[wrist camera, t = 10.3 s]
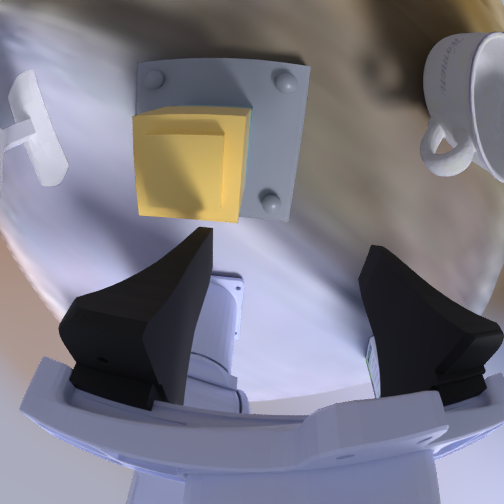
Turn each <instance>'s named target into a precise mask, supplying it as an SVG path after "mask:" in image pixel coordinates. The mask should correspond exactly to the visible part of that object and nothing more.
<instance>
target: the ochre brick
mask: <svg viewBox="0 0 504 504" xmlns="http://www.w3.org/2000/svg"><path fill="white" fill-rule="evenodd" d="M250 116H251V109H250V108H236V107H215V106H167V107H163V108H159V109H155V110H152V111H148V112H144V113H141V114H138V115H134V116H133V150H134V167H135V180H136V191H137V201H138V210H139V215H141V216H156V217H170V218H183V219H195V220H208V221H219V222H230V223H238V218H239V213H240V208H241V202H242V197H243V192H244V185H245V173H246V161H247V149H248V138H249V127H250Z"/></svg>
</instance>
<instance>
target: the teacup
mask: <svg viewBox="0 0 504 504" xmlns="http://www.w3.org/2000/svg"><path fill="white" fill-rule="evenodd" d="M423 89H424V96H425V101H426V105H427V108H428V111H429V114H430V116H431V118H430V120H429V122H428V129H427V130H426V132H425V134H424V136H423V138H422V141H421V145H420V155H421V158H422V160H423V162H424V163H425V165H426V167H427V168H428V169H429V170H430V171H431V172H432V173H434V174H436V175H439V176H453V175H456V174H458V173H460V172H462V171H464V170H465V169H466V168H467V167H468V166H469V164H470V163H471V160H472V161H473V162H475V163H476V164H478V165H479V166H481V167H482V168H484V169H486V170H487V171H489V172H490V173H491V174H492V175H493V176H494V177H495V178H496V179H497V180H499V181H501V182H503V183H504V32H491V33H461V34H455V35H451V36H448V37H446V38H443V39H442V40H440V41H439V42H438V43H437V44H436V45H435V46H434V47H433V48H432V50H431V51H430V53H429V55H428V57H427V60H426V63H425V67H424V75H423ZM443 138H444V139H445V140H446V141H447V142H448V143H449V144H450V145H451V146H452V147H453V148H454V149H453V150H451V151H450V152H447V153H444V154H435V152H436V149H437V147H438V145H439V143H440V142H441V140H442V139H443Z"/></svg>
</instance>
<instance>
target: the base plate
mask: <svg viewBox="0 0 504 504" xmlns="http://www.w3.org/2000/svg"><path fill="white" fill-rule="evenodd" d="M310 69H311V67H310V66H304V65H298V64H291V63H283V62H275V61H266V60H254V59H238V58H185V59H169V60H157V61H148V62H140V63H138V69H137V98H136V115H138V114H141V113H144V112H148V111H152V110H155V109H159V108H163V107H167V106H215V107H236V108H250V109H251V116H250V127H249V138H248V149H247V161H246V173H245V185H244V192H243V197H242V202H241V208H240V213H239V217H248V218H258V219H268V220H278V221H287V222H288V219H289V213H290V207H291V201H292V195H293V189H294V183H295V177H296V170H297V164H298V157H299V151H300V144H301V137H302V130H303V123H304V116H305V108H306V101H307V93H308V85H309V77H310Z"/></svg>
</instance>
